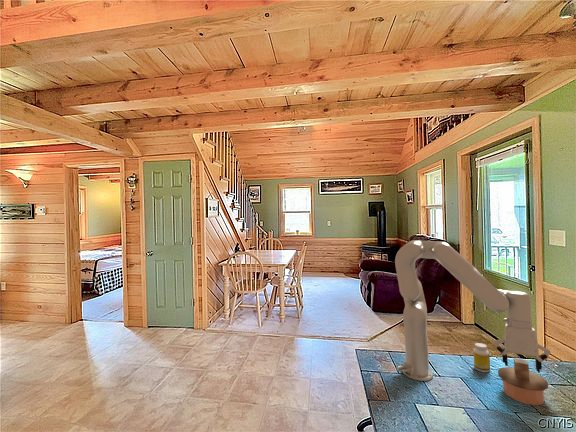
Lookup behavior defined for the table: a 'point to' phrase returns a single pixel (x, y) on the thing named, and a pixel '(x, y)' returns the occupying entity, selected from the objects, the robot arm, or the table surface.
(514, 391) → the terracotta bowl
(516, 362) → the walnut lid
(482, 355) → the pill bottle
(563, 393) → the table surface
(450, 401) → the table surface
